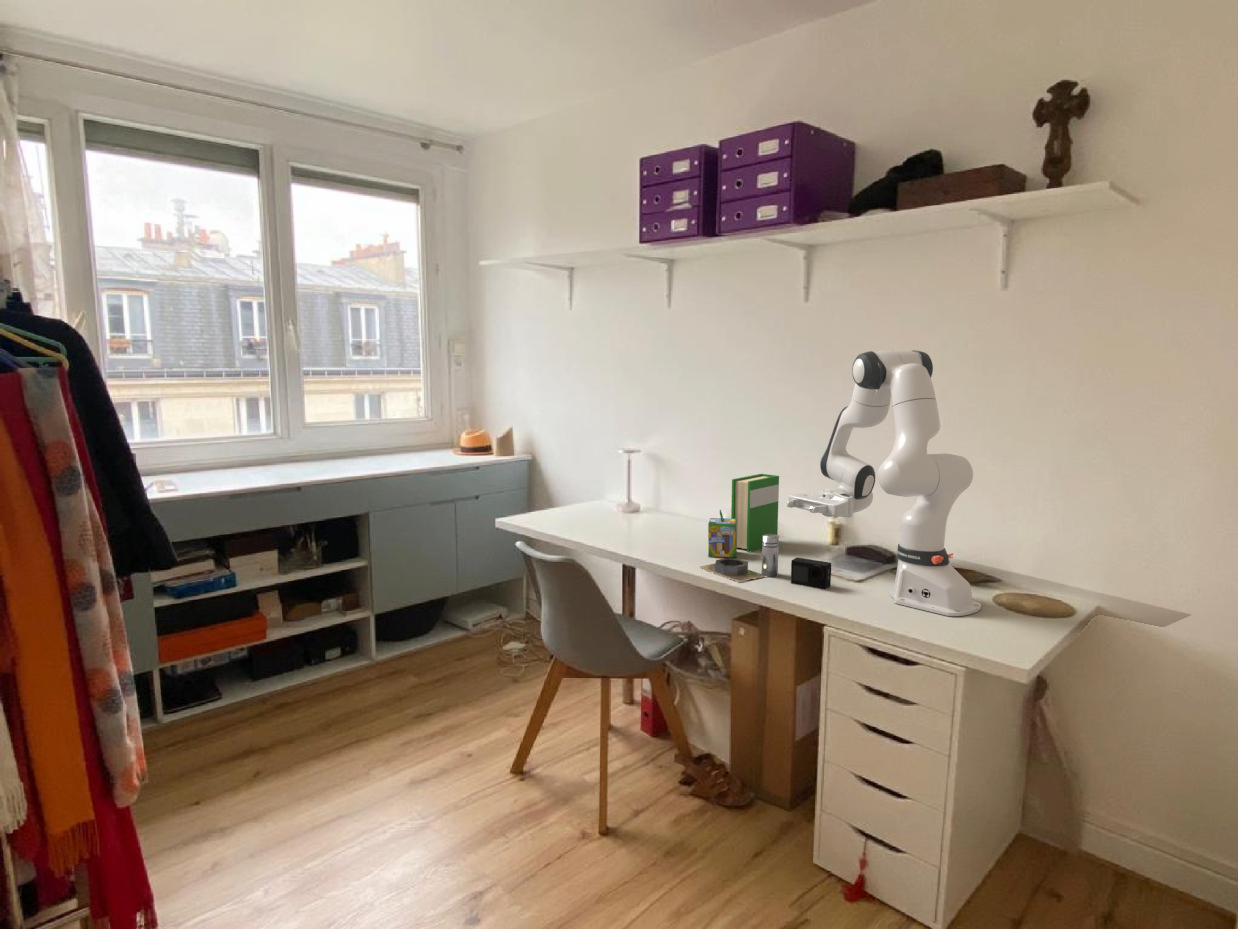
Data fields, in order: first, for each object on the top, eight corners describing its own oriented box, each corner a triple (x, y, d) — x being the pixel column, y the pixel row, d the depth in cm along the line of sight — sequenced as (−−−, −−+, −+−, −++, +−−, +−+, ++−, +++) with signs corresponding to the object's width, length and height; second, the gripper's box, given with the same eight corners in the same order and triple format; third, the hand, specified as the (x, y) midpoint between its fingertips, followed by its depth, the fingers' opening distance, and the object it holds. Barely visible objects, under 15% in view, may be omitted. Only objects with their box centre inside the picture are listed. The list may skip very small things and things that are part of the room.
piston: (781, 575, 219) (782, 536, 217) (769, 578, 216) (770, 538, 215) (769, 571, 223) (770, 533, 221) (757, 574, 220) (758, 535, 219)
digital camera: (788, 584, 210) (789, 560, 209) (795, 580, 215) (796, 556, 214) (823, 591, 204) (824, 566, 203) (830, 586, 209) (831, 562, 208)
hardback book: (748, 552, 246) (750, 481, 243) (730, 548, 251) (732, 479, 248) (777, 543, 259) (779, 475, 256) (759, 539, 264) (761, 473, 261)
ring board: (764, 577, 217) (764, 567, 217) (739, 582, 212) (739, 572, 212) (724, 563, 232) (724, 554, 232) (699, 568, 227) (699, 558, 226)
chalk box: (735, 558, 238) (736, 514, 236) (707, 557, 240) (708, 513, 238) (737, 551, 247) (738, 508, 245) (709, 550, 249) (710, 507, 247)
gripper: (806, 487, 239) (775, 491, 232) (857, 497, 222) (826, 502, 215) (805, 506, 240) (775, 511, 233) (856, 518, 223) (825, 523, 216)
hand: (800, 507), depth 224 cm, fingers open, 8 cm apart
